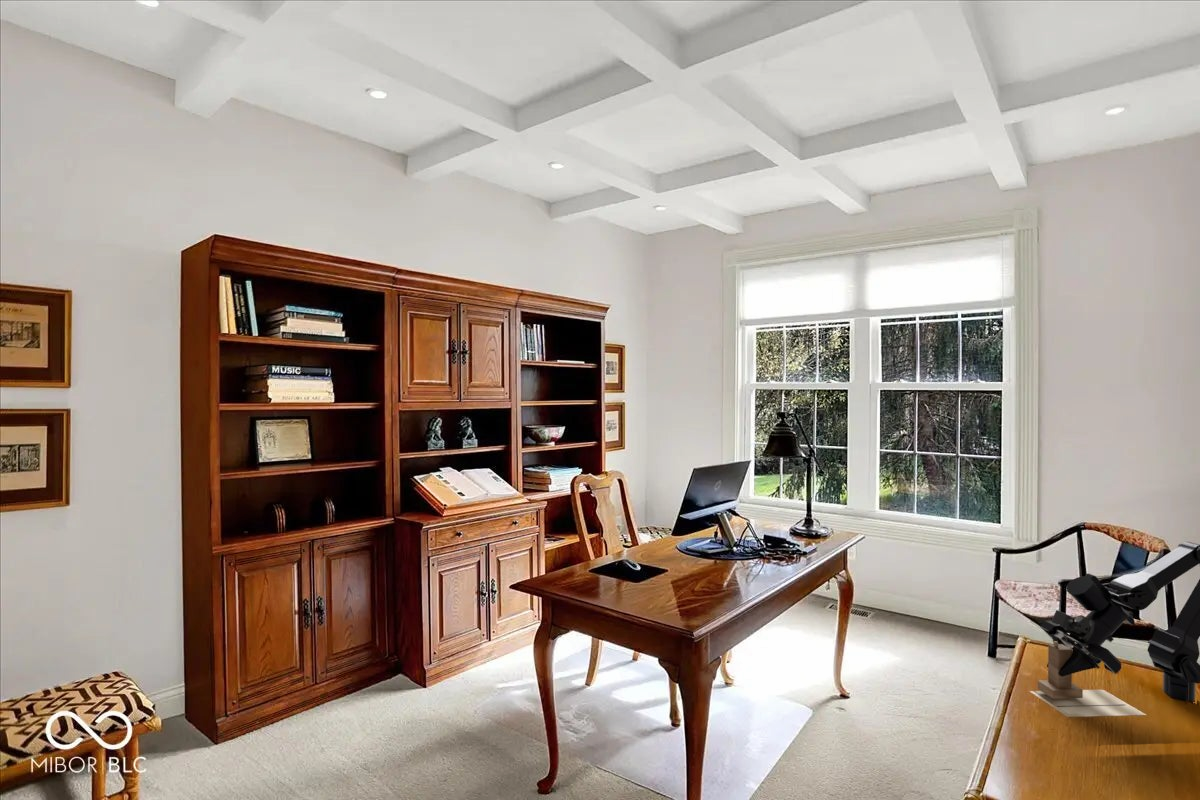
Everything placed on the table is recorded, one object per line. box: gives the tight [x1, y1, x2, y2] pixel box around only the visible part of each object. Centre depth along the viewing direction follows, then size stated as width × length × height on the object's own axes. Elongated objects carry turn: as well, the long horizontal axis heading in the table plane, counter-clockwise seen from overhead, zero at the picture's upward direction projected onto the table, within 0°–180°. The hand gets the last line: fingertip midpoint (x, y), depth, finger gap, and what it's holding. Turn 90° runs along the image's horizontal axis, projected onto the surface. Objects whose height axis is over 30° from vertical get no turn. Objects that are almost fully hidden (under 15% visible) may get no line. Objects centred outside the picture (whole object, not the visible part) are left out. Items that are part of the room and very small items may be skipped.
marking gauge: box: [1037, 641, 1084, 699], centre depth 152 cm, size 7×5×12 cm
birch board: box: [1029, 689, 1147, 718], centre depth 149 cm, size 18×12×2 cm, turn 92°
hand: (1054, 671), depth 152 cm, fingers closed on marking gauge, 3 cm apart
